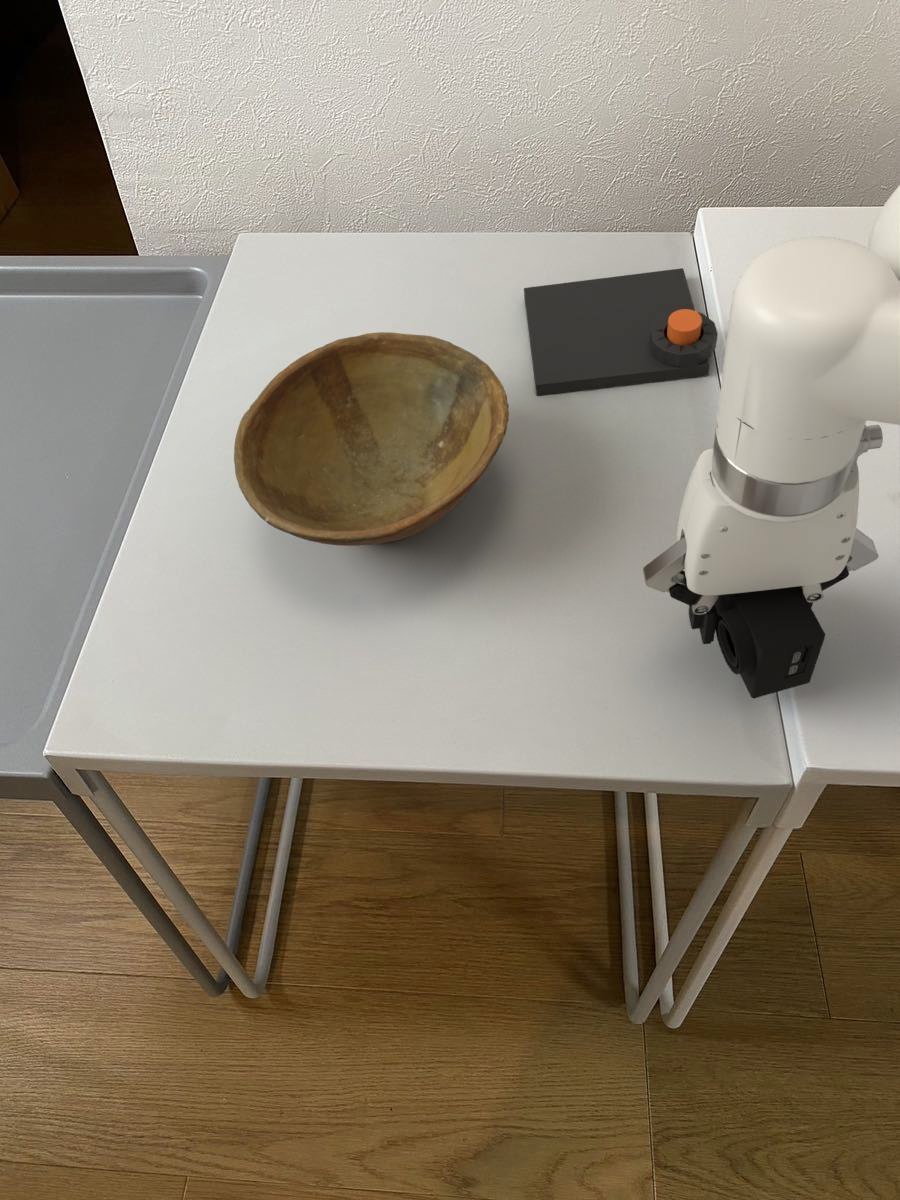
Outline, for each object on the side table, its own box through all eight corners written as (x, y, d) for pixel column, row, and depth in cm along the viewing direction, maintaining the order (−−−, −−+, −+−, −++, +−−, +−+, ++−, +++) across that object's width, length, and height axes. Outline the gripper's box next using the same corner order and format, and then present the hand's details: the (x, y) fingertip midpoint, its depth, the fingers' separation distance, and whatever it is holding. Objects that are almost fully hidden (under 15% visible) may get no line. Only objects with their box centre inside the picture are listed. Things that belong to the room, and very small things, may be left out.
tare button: (696, 322, 87) (698, 307, 85) (702, 343, 85) (704, 328, 84) (664, 325, 87) (665, 310, 86) (669, 347, 85) (671, 332, 84)
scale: (691, 278, 94) (694, 252, 92) (718, 374, 86) (722, 350, 84) (524, 298, 95) (522, 274, 93) (536, 395, 88) (535, 372, 85)
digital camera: (682, 589, 72) (686, 535, 66) (750, 569, 72) (760, 514, 66) (735, 704, 66) (745, 656, 60) (809, 683, 66) (826, 633, 60)
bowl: (564, 529, 79) (562, 449, 71) (320, 651, 75) (288, 581, 67) (447, 378, 90) (434, 294, 82) (231, 477, 87) (194, 399, 79)
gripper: (918, 386, 54) (853, 566, 69) (619, 426, 56) (619, 593, 71) (962, 486, 50) (883, 654, 65) (638, 525, 51) (634, 680, 66)
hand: (746, 621), depth 67 cm, fingers closed on digital camera, 5 cm apart
